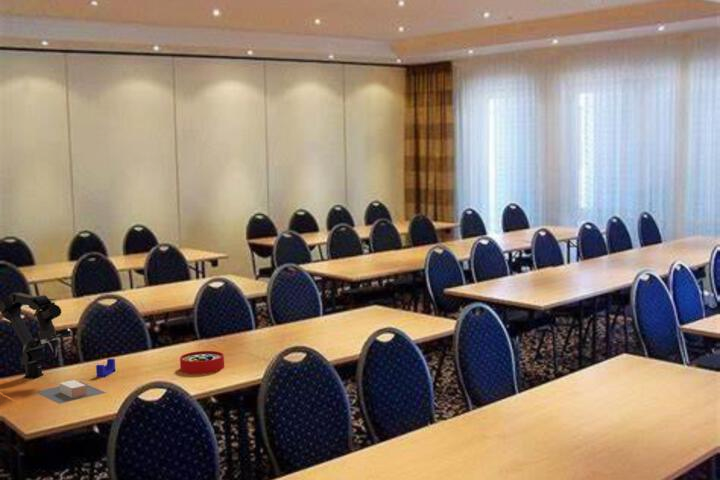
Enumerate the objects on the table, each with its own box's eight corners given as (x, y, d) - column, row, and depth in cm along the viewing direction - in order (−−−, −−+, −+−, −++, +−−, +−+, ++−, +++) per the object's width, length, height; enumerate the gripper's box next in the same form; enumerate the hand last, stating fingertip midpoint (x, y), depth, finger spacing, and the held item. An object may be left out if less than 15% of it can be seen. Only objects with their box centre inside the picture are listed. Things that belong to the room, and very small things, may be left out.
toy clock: (171, 357, 376) (205, 348, 391) (171, 369, 376) (206, 360, 391) (197, 364, 363) (232, 355, 377) (198, 377, 363) (233, 367, 378)
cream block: (59, 383, 341) (72, 388, 332) (73, 380, 345) (86, 385, 337) (60, 392, 341) (73, 398, 333) (74, 389, 346) (87, 394, 337)
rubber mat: (35, 393, 343) (34, 391, 343) (80, 383, 357) (80, 381, 357) (59, 405, 326) (59, 403, 326) (106, 393, 340) (106, 392, 340)
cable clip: (106, 371, 376) (105, 358, 375) (115, 371, 375) (114, 358, 375) (93, 378, 364) (93, 365, 364) (103, 378, 364) (102, 365, 363)
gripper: (18, 328, 349) (28, 363, 347) (62, 315, 353) (72, 349, 351) (25, 330, 360) (35, 364, 358) (68, 317, 364) (77, 350, 362)
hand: (55, 357), depth 357 cm, fingers closed
